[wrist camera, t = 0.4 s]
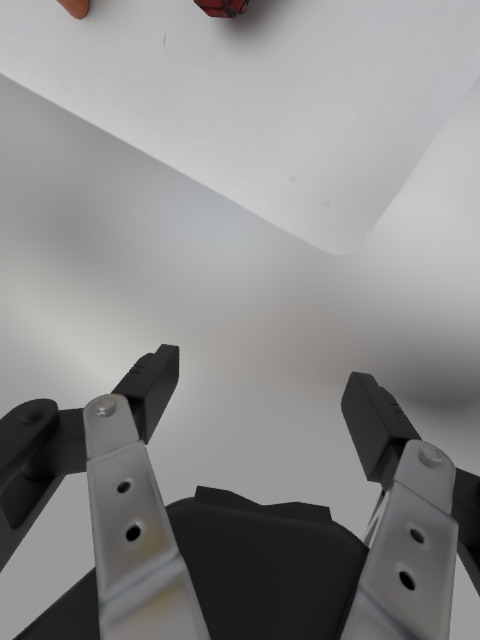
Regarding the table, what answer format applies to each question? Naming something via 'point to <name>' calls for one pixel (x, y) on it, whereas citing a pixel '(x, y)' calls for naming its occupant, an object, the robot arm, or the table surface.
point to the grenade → (222, 7)
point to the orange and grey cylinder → (76, 7)
